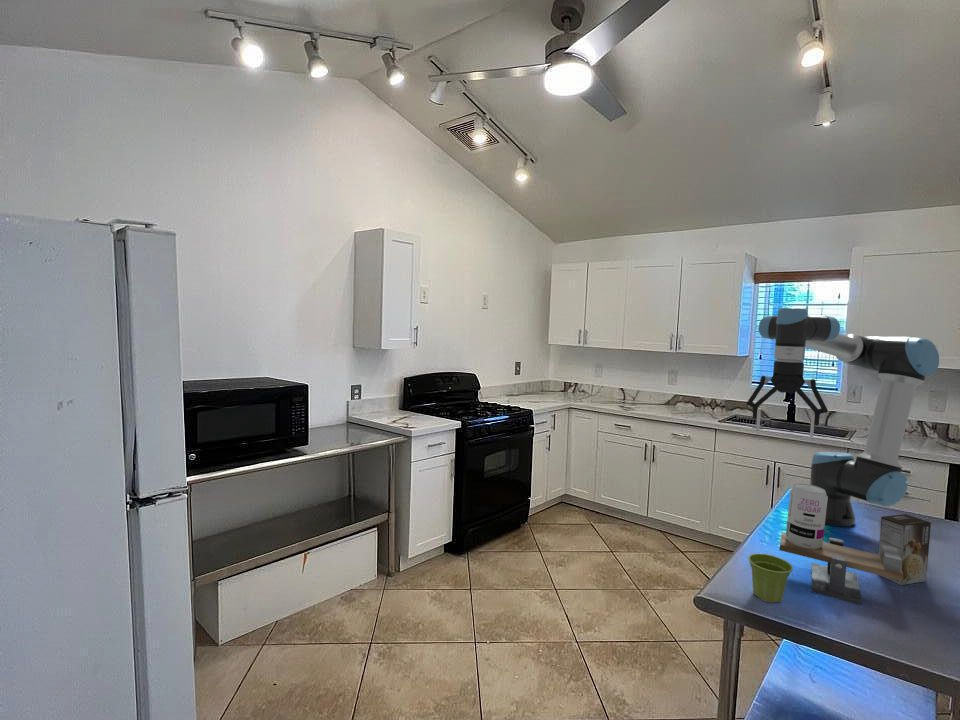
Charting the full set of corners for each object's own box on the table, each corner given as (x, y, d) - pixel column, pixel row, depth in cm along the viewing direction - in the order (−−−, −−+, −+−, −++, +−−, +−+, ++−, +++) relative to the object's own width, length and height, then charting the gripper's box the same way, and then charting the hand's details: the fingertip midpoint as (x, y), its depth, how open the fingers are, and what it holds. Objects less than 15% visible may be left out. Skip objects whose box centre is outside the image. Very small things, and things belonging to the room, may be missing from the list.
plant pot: (790, 593, 126) (792, 559, 125) (790, 611, 117) (793, 575, 117) (747, 583, 130) (749, 550, 130) (745, 599, 122) (747, 564, 122)
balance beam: (781, 537, 141) (782, 521, 141) (896, 564, 128) (898, 547, 127) (779, 550, 133) (781, 533, 132) (902, 580, 119) (904, 562, 119)
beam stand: (811, 566, 140) (813, 533, 140) (856, 577, 135) (859, 542, 134) (811, 592, 126) (814, 555, 126) (861, 605, 121) (865, 566, 120)
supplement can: (808, 537, 138) (814, 483, 137) (829, 551, 130) (836, 494, 128) (778, 536, 138) (784, 482, 136) (798, 550, 130) (804, 493, 128)
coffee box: (901, 570, 139) (906, 513, 138) (927, 582, 133) (932, 522, 132) (875, 574, 137) (880, 515, 136) (901, 586, 131) (906, 525, 130)
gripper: (739, 359, 152) (735, 429, 153) (842, 364, 138) (836, 441, 140) (742, 357, 158) (738, 425, 159) (840, 362, 145) (834, 436, 146)
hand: (783, 433), depth 150 cm, fingers open, 13 cm apart
